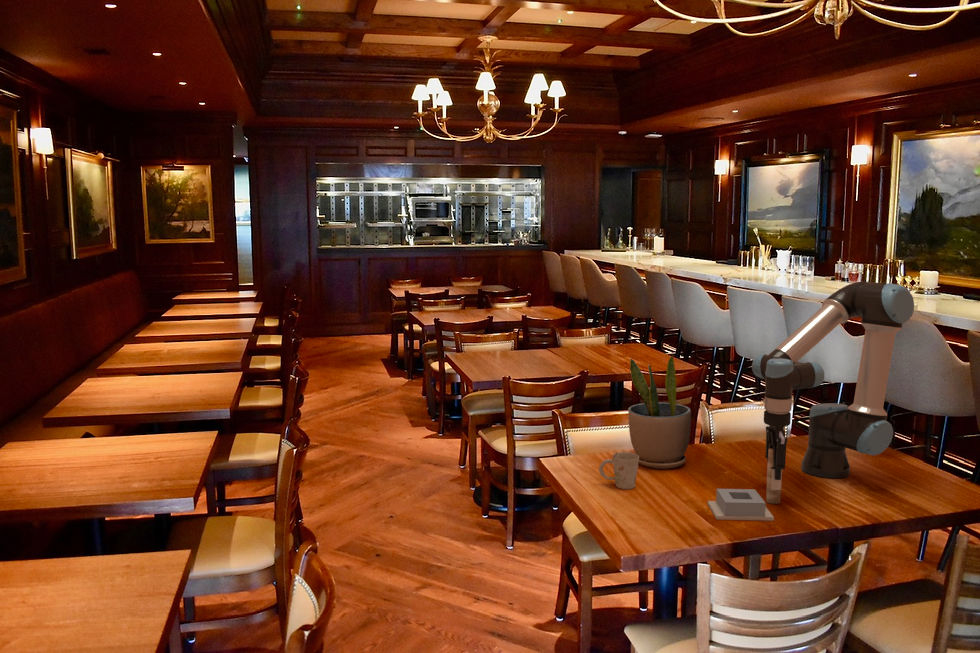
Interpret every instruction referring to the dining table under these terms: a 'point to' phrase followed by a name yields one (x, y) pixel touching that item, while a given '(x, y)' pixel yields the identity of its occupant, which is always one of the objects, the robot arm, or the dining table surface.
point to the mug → (623, 469)
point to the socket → (739, 505)
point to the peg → (771, 495)
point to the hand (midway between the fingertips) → (773, 486)
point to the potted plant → (658, 422)
